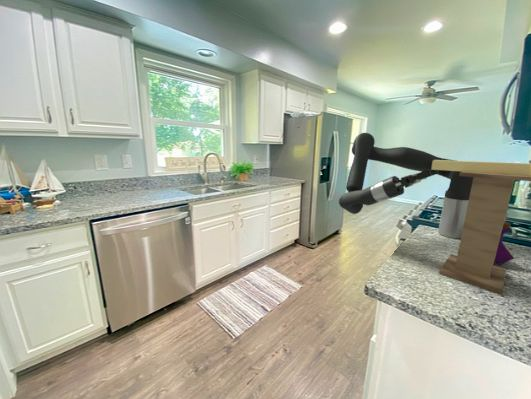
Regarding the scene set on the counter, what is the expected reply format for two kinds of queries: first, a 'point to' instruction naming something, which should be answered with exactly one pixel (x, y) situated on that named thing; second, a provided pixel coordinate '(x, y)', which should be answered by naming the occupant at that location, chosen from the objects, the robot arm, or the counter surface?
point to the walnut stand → (482, 231)
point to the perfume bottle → (502, 252)
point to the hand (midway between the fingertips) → (433, 171)
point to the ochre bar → (483, 167)
